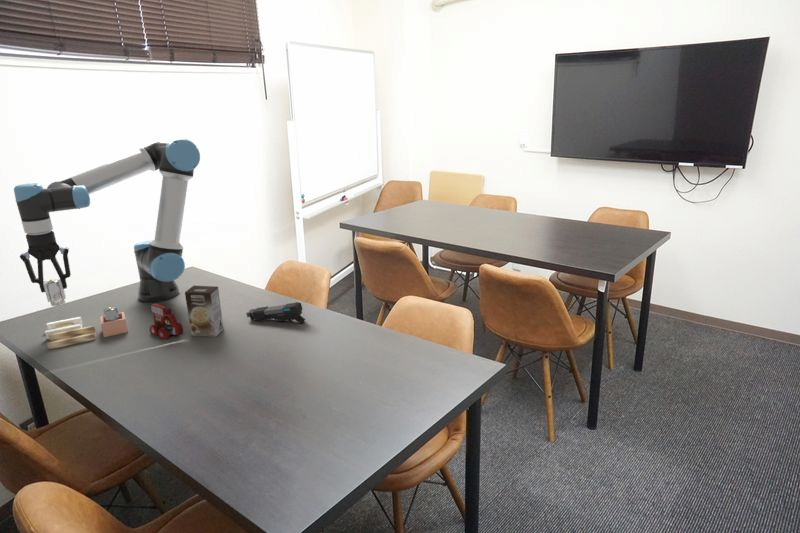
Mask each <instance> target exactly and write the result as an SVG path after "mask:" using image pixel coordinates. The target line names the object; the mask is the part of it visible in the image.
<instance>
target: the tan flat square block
mask: <svg viewBox="0 0 800 533" xmlns="http://www.w3.org/2000/svg"><path fill="white" fill-rule="evenodd" d="M72 325H73V323H69V324H64V325H59V326H56V329H57V328H62V327H67V326H72Z"/></svg>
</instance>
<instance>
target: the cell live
mask: <svg viewBox="0 0 800 533" xmlns="http://www.w3.org/2000/svg"><path fill="white" fill-rule="evenodd" d="M58 280H59V279H50V280H48V281H47V280H46V281H47V282H46V285H47V289H48V292H49V296H50V300H51V301H50V306H51V307H57V306H61V305H64V304H65V303H66V300H65V299H63V298H62V294H61V290H60V286H59V282H58Z"/></svg>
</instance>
